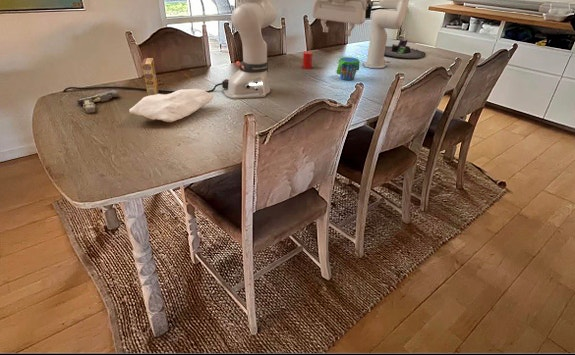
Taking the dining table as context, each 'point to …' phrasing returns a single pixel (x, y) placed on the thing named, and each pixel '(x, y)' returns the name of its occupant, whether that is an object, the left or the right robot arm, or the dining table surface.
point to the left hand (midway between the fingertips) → (336, 34)
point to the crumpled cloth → (171, 104)
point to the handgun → (95, 100)
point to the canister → (307, 60)
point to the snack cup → (348, 67)
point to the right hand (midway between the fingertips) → (362, 16)
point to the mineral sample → (403, 51)
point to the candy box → (150, 76)
